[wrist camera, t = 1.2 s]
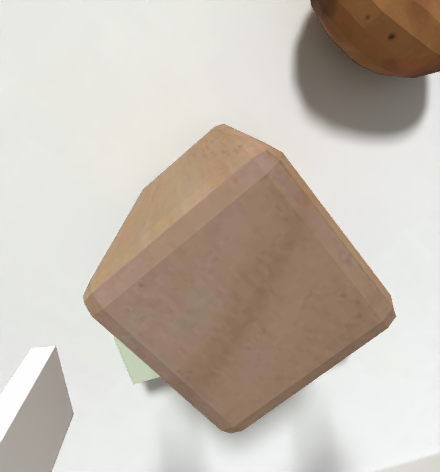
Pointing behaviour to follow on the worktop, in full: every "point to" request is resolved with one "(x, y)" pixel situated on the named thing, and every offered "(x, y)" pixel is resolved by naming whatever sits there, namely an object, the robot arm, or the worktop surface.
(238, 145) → the wooden block
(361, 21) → the potato
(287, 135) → the worktop surface
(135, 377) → the sage cube
